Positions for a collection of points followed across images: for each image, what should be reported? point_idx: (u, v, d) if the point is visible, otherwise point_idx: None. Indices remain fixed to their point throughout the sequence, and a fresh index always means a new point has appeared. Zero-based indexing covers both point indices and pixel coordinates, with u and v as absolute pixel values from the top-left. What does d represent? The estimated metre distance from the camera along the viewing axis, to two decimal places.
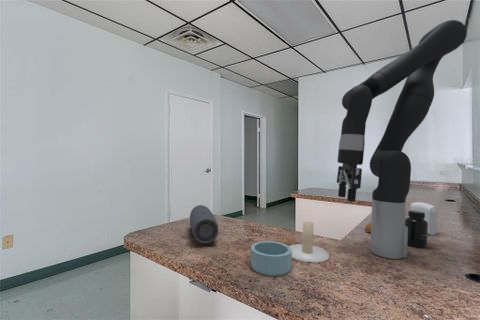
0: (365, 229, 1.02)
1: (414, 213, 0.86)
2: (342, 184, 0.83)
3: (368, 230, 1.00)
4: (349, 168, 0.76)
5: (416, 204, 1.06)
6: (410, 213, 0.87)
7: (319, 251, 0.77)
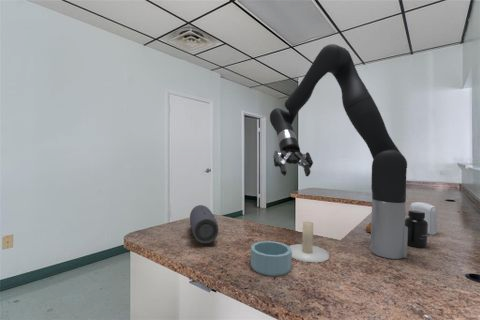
0: (366, 229, 1.02)
1: (414, 213, 0.86)
2: (304, 166, 0.91)
3: (369, 230, 1.00)
4: None
5: (416, 204, 1.06)
6: (410, 213, 0.87)
7: (319, 251, 0.77)
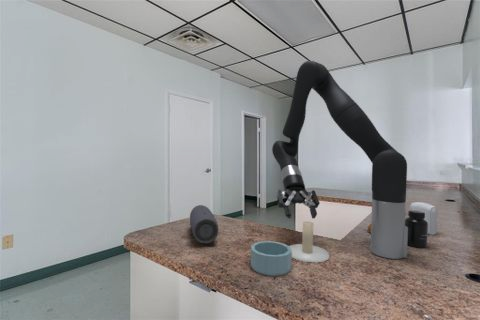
0: None
1: (414, 213, 0.86)
2: (310, 206, 0.85)
3: None
4: None
5: (416, 204, 1.06)
6: (410, 213, 0.87)
7: (319, 251, 0.77)
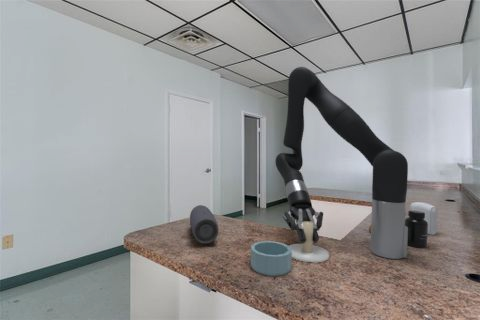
0: (369, 230, 1.01)
1: (414, 213, 0.86)
2: None
3: None
4: None
5: (416, 204, 1.06)
6: (410, 213, 0.87)
7: (319, 250, 0.77)
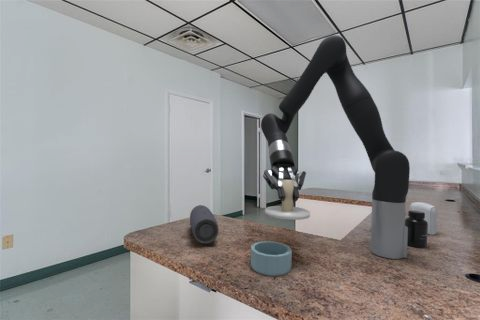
0: None
1: (414, 213, 0.86)
2: None
3: None
4: None
5: (416, 204, 1.06)
6: (410, 213, 0.87)
7: (300, 210, 0.72)
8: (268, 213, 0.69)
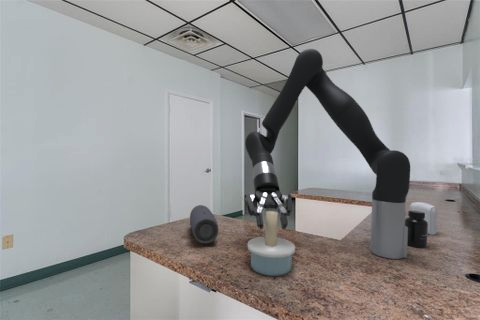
0: None
1: (414, 213, 0.86)
2: (281, 214, 0.69)
3: None
4: None
5: (416, 204, 1.06)
6: (410, 213, 0.87)
7: (285, 244, 0.68)
8: (250, 249, 0.65)
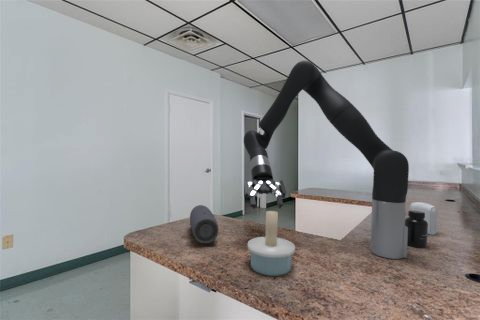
0: None
1: (414, 213, 0.86)
2: (277, 196, 0.83)
3: None
4: None
5: (416, 204, 1.06)
6: (410, 213, 0.87)
7: (285, 244, 0.68)
8: (250, 249, 0.65)
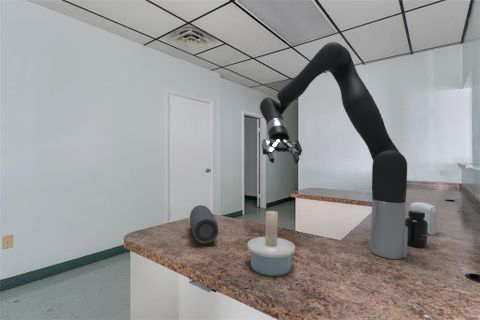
0: None
1: (414, 213, 0.86)
2: (293, 153, 0.89)
3: None
4: None
5: (416, 204, 1.06)
6: (410, 213, 0.87)
7: (285, 244, 0.68)
8: (250, 249, 0.65)
